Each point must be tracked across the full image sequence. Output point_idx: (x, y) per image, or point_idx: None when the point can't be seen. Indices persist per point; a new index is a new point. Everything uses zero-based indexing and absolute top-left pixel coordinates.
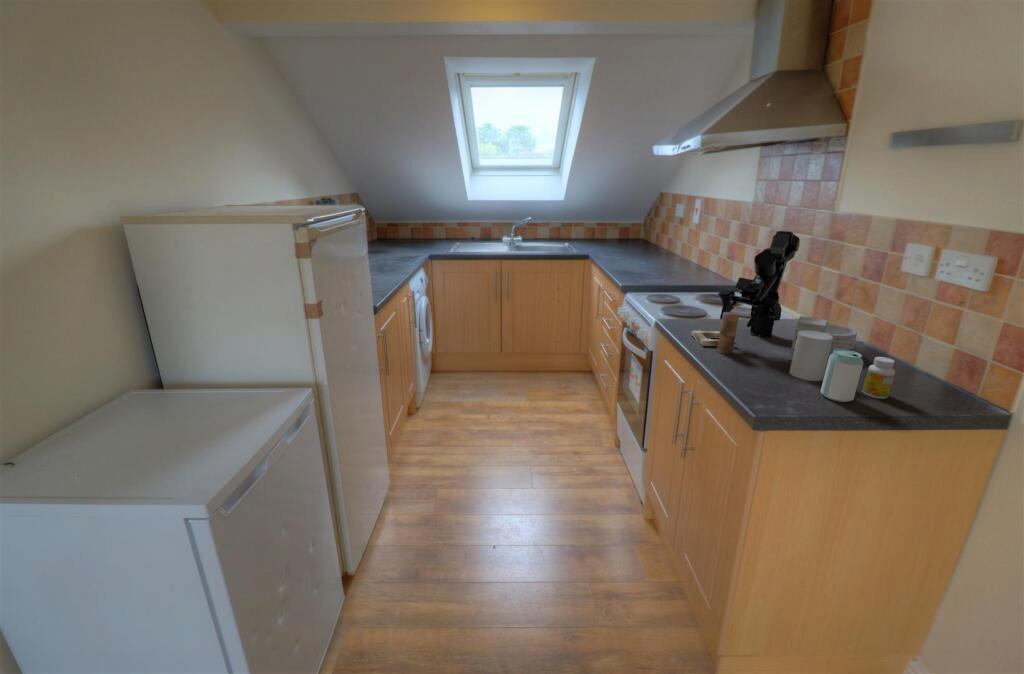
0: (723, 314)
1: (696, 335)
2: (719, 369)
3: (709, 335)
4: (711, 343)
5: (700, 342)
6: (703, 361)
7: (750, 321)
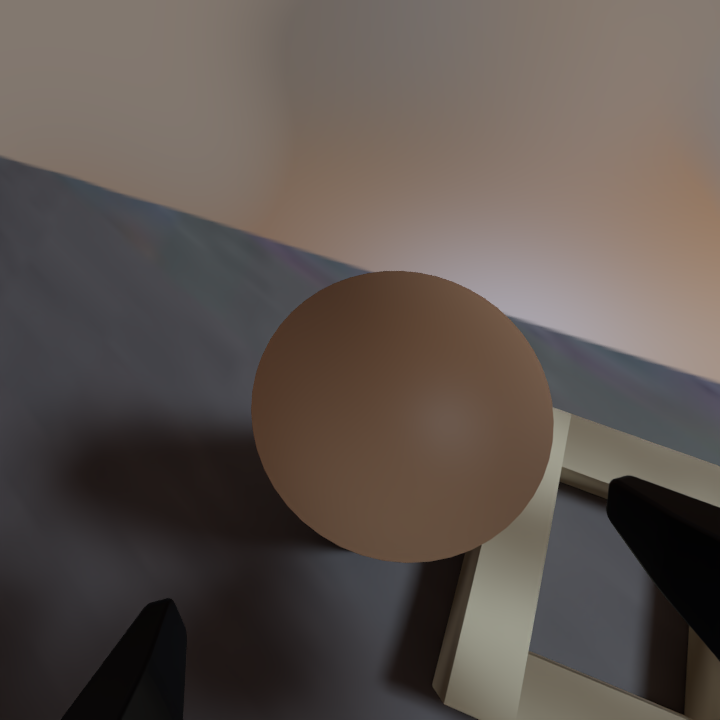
0: (435, 281)
1: (658, 446)
2: (137, 245)
3: None
4: None
5: None
6: (265, 246)
7: (107, 673)
